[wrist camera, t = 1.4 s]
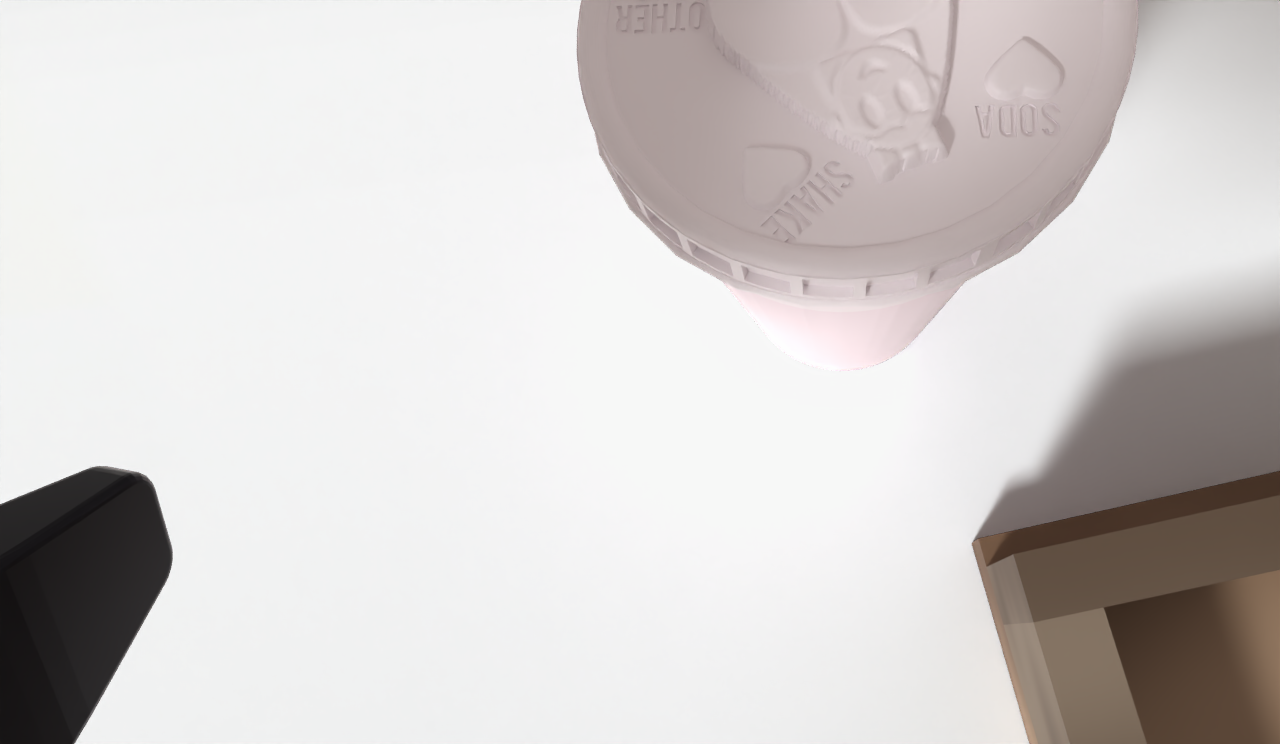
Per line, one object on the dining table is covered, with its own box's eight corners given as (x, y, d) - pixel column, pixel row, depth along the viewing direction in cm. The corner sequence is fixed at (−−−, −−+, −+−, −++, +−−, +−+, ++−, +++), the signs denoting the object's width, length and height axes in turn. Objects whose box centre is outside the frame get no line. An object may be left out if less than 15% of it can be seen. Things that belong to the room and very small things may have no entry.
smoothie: (930, 83, 22) (1070, -752, 9) (1068, 367, 21) (1506, -143, 7) (637, 202, 23) (352, -421, 9) (747, 489, 21) (589, 227, 8)
